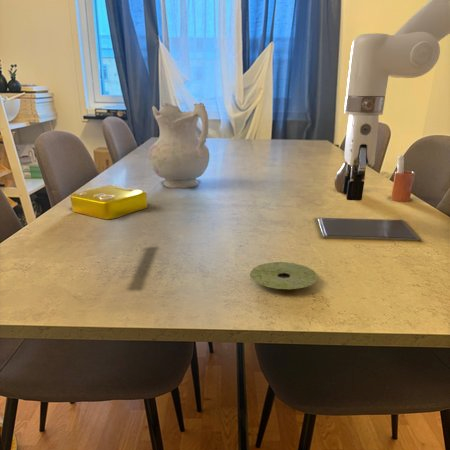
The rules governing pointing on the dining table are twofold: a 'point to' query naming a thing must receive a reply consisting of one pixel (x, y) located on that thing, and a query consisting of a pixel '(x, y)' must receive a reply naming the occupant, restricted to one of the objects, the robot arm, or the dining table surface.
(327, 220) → the tablet
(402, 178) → the pen cup
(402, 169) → the stylus
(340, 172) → the vase
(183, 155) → the ceramic pitcher
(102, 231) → the dining table surface
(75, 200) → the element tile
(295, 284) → the green stone disc
